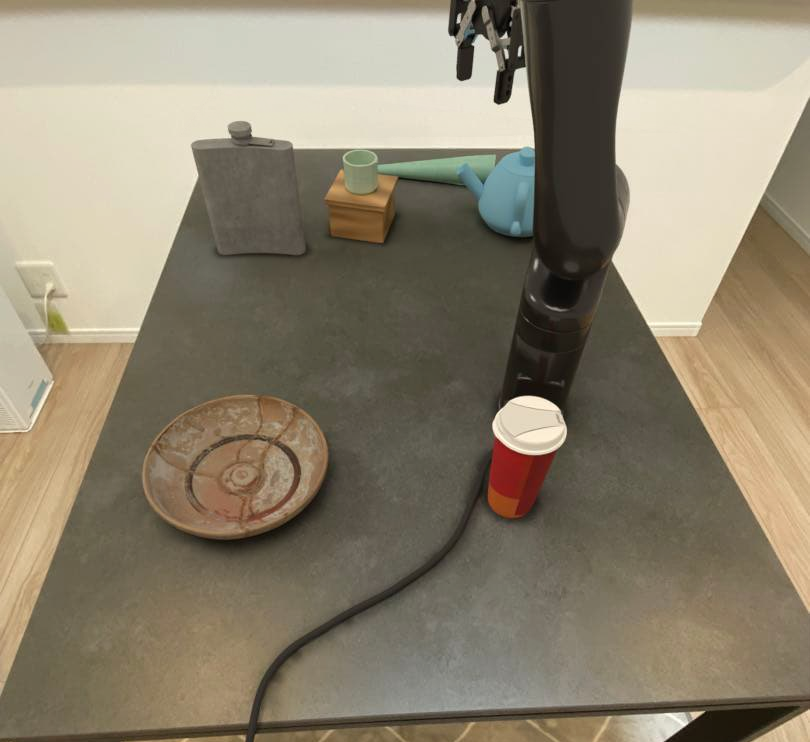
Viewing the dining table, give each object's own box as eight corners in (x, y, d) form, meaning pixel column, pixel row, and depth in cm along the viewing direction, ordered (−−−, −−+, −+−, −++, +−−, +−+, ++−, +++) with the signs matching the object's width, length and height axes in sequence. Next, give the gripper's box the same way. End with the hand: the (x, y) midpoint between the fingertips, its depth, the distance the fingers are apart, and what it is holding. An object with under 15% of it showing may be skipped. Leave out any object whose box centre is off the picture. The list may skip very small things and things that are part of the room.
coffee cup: (536, 475, 81) (562, 391, 69) (546, 524, 77) (576, 445, 64) (474, 475, 81) (490, 392, 69) (481, 526, 77) (498, 446, 64)
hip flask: (216, 255, 108) (184, 131, 91) (219, 242, 110) (189, 119, 94) (305, 255, 109) (289, 132, 92) (306, 242, 111) (291, 120, 94)
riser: (384, 245, 111) (384, 207, 105) (327, 237, 112) (324, 199, 106) (397, 214, 117) (398, 176, 111) (343, 206, 118) (340, 169, 112)
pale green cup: (373, 198, 107) (372, 168, 102) (340, 193, 107) (338, 163, 103) (381, 181, 110) (380, 151, 106) (349, 177, 110) (348, 147, 106)
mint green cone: (365, 138, 122) (496, 149, 120) (366, 167, 127) (492, 178, 125) (360, 151, 119) (495, 162, 117) (361, 180, 124) (491, 191, 122)
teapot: (554, 256, 110) (572, 184, 99) (446, 244, 111) (452, 172, 101) (557, 200, 121) (572, 130, 110) (458, 190, 122) (464, 120, 111)
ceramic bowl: (365, 458, 82) (363, 433, 78) (257, 587, 71) (249, 566, 67) (232, 396, 89) (224, 369, 84) (115, 506, 77) (99, 481, 73)
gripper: (437, -86, 71) (430, 78, 84) (512, -55, 64) (491, 117, 78) (488, -94, 73) (473, 67, 87) (565, -64, 67) (536, 104, 80)
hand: (482, 90), depth 82 cm, fingers open, 8 cm apart
